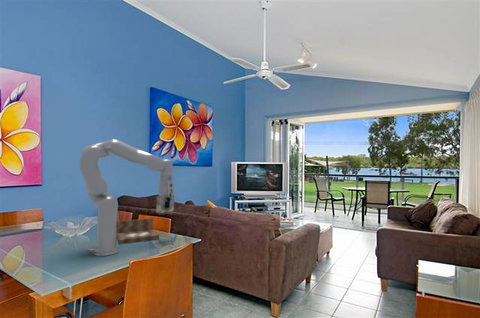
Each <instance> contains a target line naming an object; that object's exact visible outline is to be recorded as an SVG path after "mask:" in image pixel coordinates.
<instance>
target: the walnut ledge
mask: <svg viewBox="0 0 480 318" xmlns="http://www.w3.org/2000/svg"><path fill="white" fill-rule="evenodd" d="M153 219H154V217H150V218H139V219H129V220H127V219H126V220H119V221H116V242H117V243H118V245H124V244H125V245H126V244H132V243H140V242H149V241H153V240H154V241H156V239H157V240H160V235H159V233H157V232H156V231H155V230H154V229H153V228H154V227H153V225H154V220H153Z"/></svg>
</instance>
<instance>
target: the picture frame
mask: <svg viewBox="0 0 480 318" xmlns="http://www.w3.org/2000/svg"><path fill="white" fill-rule="evenodd" d="M165 202H166V197H165V196H159V195H158V196H156V207H155V208H156V209H155V213H156V214H164V213H169V212H174V211H175V195H174V196H173V198H172V199H171V200H170V207H169V208H165Z"/></svg>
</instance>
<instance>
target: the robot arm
mask: <svg viewBox="0 0 480 318" xmlns="http://www.w3.org/2000/svg"><path fill="white" fill-rule="evenodd" d="M111 155H114V156H115V157H119V158H121V159H123V160H126V161H127V162H130V163H134V164H140V165H144V166H146V168H147V169H148V170H149V171H153V172H154V171H155V172H157V171H158V172H159V184H158V196H165V197H166V202H165V208H169V207H170V200H171V199H172V198H173V196H174V197H175V186H174V185H175V184H174V181H173V160H172V159H168V158H167V159H166V158H165V159H162V158H160V157H159V156H157V155H154V154H153V153H149V152H146V151H144V150H141V149H138V148H137V147H134V146H132V145H129V144H127V143H126V142H123V141H121V140H119V139H117V138H112V139H108V140H104V141H102V142H98V143H94V144H90V145H86V146H84V147H83V148H82V149H81V156H80V160H79V170H80V173H81V175H82V176H83V179H84V181H85V185H84V186H85V187H84V188H85V191H86V192H87V195H88V197H89V199H90V200H91V202H92V204H93V206H94V207H95V208H96V209H97V210H98V211H97V212H98V213H97V221H96V222H97V224H96V225H97V227H96V228H97V229H96V244H95V245H94V246H87V247H86V249H87V250H86V251H87V252H93V255H94V256H95V257H97V256H98V257H105V256H112V255H115V254H117V253H118V252H120V249H119V248H118V247H117V239H116V220H117V211H119V210H118V209H119V202H118V200H117V198H116V197H115V196H114V195H111V194H110V193H109V191H108V187H109V186H108V182H107V181H106V178H105V177H104V176H103V174H102V172H101V169H100V166H99V160H100V159H101V158H102V159H103V158H105V157H108V156H111Z"/></svg>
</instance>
